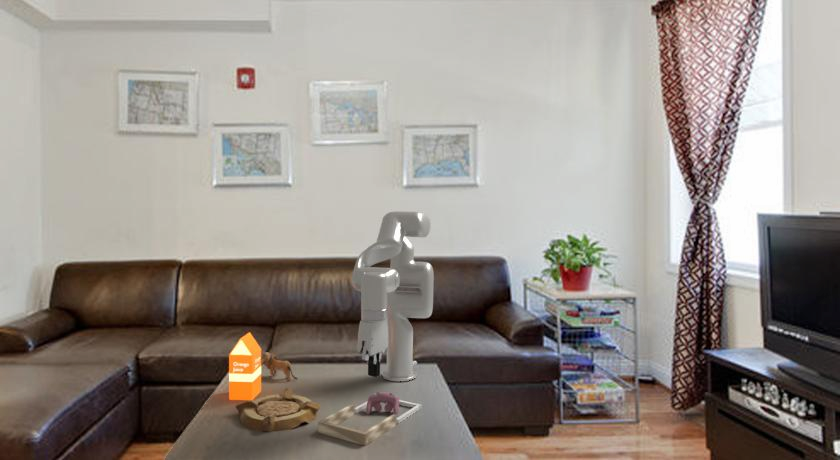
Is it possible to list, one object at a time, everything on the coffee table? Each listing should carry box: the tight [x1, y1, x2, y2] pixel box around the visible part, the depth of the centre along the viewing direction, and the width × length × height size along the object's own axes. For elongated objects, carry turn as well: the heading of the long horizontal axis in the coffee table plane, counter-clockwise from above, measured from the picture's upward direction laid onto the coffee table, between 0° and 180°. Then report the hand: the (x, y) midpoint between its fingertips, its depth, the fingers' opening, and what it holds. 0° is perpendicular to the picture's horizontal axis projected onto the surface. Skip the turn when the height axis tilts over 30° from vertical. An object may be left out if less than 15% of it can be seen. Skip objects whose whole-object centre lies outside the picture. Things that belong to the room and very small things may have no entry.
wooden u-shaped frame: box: [317, 403, 397, 447], centre depth 153 cm, size 15×16×3 cm
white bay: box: [354, 399, 422, 424], centre depth 167 cm, size 14×16×1 cm
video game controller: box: [365, 391, 400, 416], centre depth 166 cm, size 10×5×7 cm, turn 84°
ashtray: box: [235, 387, 321, 433], centre depth 162 cm, size 24×24×5 cm
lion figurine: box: [261, 351, 298, 382], centre depth 196 cm, size 15×5×9 cm, turn 72°
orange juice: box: [228, 331, 262, 401], centre depth 178 cm, size 8×9×20 cm
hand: (373, 375), depth 160 cm, fingers closed
